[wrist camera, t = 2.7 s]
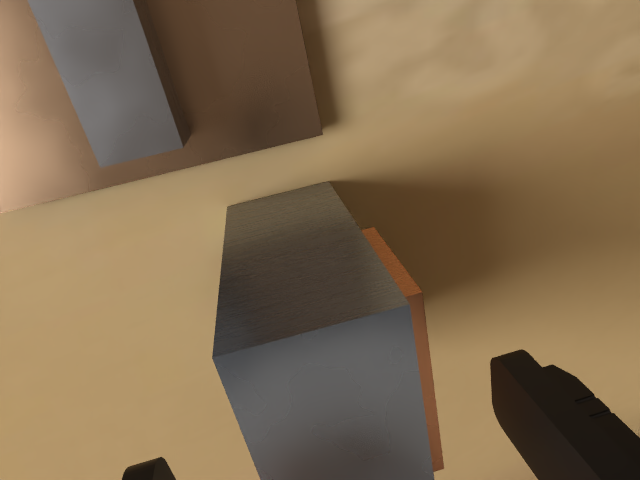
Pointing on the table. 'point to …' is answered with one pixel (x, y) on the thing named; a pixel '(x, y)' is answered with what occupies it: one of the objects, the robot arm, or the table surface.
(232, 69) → the rail
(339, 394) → the block
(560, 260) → the table surface
